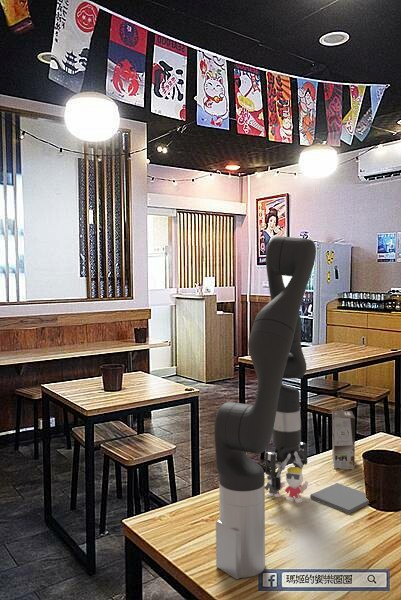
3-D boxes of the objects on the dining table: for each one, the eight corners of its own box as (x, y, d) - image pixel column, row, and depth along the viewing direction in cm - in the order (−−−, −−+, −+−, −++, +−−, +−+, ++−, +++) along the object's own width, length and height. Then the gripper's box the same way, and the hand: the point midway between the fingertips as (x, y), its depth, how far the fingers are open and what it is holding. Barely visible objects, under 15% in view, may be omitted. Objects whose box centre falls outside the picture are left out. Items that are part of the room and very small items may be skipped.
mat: (349, 513, 126) (349, 510, 126) (310, 498, 135) (310, 494, 135) (375, 500, 134) (375, 496, 134) (337, 486, 143) (337, 482, 143)
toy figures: (262, 494, 138) (262, 464, 138) (269, 489, 142) (269, 459, 142) (304, 505, 132) (303, 473, 131) (310, 499, 135) (310, 468, 135)
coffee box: (355, 470, 155) (355, 418, 154) (333, 468, 156) (333, 417, 156) (352, 459, 164) (352, 410, 163) (332, 458, 165) (332, 409, 165)
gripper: (279, 435, 129) (279, 497, 129) (314, 424, 138) (314, 482, 138) (257, 428, 134) (258, 488, 135) (293, 418, 143) (293, 474, 144)
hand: (287, 485), depth 137 cm, fingers open, 8 cm apart
